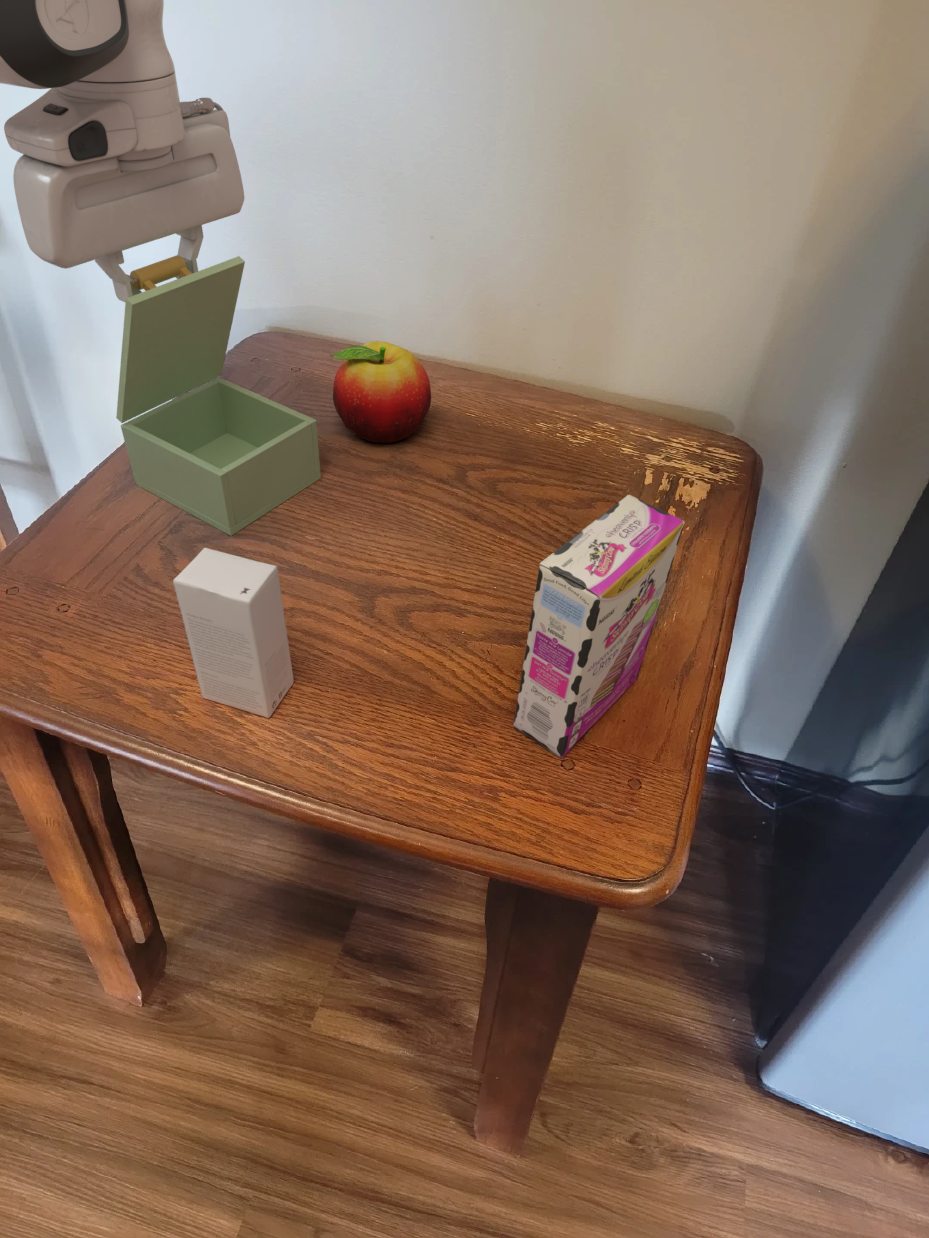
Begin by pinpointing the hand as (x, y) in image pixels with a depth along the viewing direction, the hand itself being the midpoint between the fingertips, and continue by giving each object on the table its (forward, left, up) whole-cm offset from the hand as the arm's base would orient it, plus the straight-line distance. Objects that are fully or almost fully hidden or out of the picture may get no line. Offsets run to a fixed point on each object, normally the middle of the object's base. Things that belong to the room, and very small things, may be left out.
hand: (158, 288), depth 76 cm
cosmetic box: (-1, -33, -19) cm, 38 cm away
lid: (+1, -1, -5) cm, 5 cm away
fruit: (+21, +1, -19) cm, 28 cm away
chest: (+3, -4, -18) cm, 19 cm away
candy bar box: (+23, -43, -19) cm, 53 cm away
